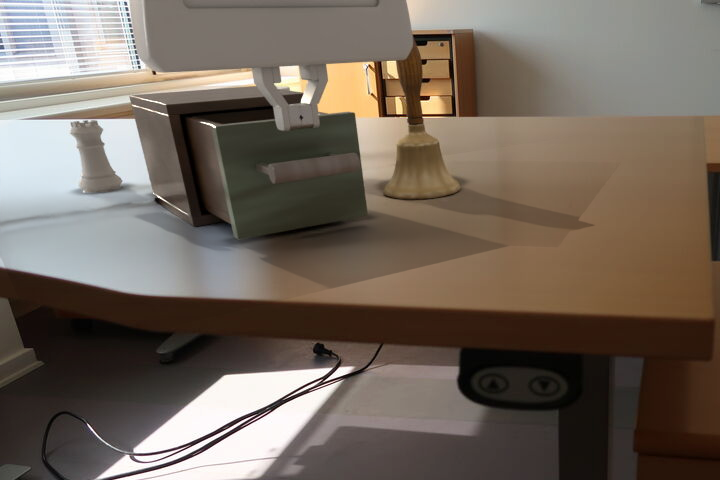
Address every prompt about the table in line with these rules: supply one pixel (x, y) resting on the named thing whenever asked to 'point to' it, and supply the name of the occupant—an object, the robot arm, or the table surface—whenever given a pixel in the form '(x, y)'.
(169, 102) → the cabinet
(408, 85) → the hand bell
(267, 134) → the drawer
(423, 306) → the table surface
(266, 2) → the robot arm
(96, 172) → the rook chess piece
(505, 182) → the table surface
